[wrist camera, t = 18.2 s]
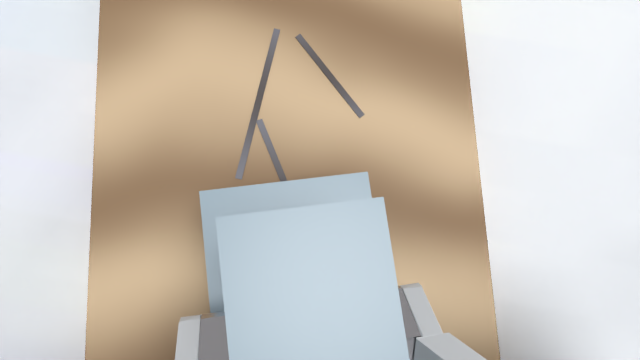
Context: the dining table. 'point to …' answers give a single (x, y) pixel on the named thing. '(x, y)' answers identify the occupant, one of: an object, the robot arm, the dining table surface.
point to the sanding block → (303, 270)
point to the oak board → (278, 148)
